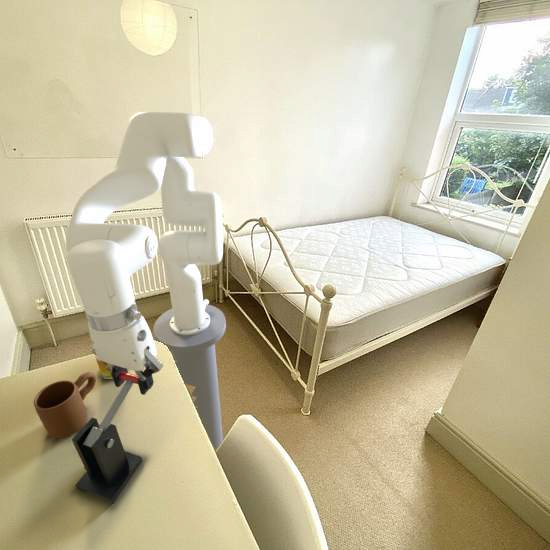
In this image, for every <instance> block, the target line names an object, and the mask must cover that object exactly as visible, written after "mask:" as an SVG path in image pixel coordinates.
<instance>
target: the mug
mask: <svg viewBox="0 0 550 550" xmlns="http://www.w3.org/2000/svg"><path fill="white" fill-rule="evenodd" d="M86 381H87V383H86V384H85V382H86ZM96 382H97V376H96V374H95V373H94V372H91V371H87V372H84V373H82V374H81V375H79V376H78V378H77V379H76V380H75V381H74V382H73V381H71V380H58V381H55V382H52V383H50V384H48V385H46V386H45V387H43V388H42V389H41V390H40V391H39V392H38V393H37V394H36V395H35V397H34V400H33V407H34V409H35V412H36V414H37V416H38V418H39V419H40V422H41V423H42V425H43V427H44V429H45V430H46V432H47V434H48V435H49V436H50V437H51V438H54V439H64V438H68V437H70V436H73V435H74V434H77V433H78V432H79V431H80V430H81V429H82V428H83V427H84V426H85V425H86V423H87V420H88V411H87V408H86V405H85V403H84V401H85V398H86V397H87V395H88V394H89V393H91V391H92V390H93V389H94V387H95V385H96ZM84 384H85V385H84ZM83 385H84V386H83ZM82 386H83V387H82ZM81 387H82V388H81ZM80 388H81V389H80Z"/></svg>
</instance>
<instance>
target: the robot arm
mask: <svg viewBox="0 0 550 550" xmlns="http://www.w3.org/2000/svg"><path fill="white" fill-rule="evenodd" d="M127 123H128V124H127V125H126V130H125V132H124V136H123V139H122V143H121V147H120V149H119V150H120V151H119V154H118V156H117V160H116V163H115V167H114V169H113V170H111V171H110V172H108V173H107V174H106V175H104V176H103V177H101V178H100V179H99V180H98V181H96V182H95V183H94V184H93V185H92V186H91V187H89V188H88V189H87V190H86V191H85V192H84V193H82V195H81V196H80V198H79V199H78V200H77V202H76V203H75V206H74V208H73V211H72V214H71V217H70V219H69V223H68V227H67V230H66V234H65V235H66V236H65V247H66V251H67V254H66V262H67V267H68V269H69V272H70V275H71V277H72V280H73V283H74V286H75V288H76V291H77V293H78V297H79V299H80V302H81V304H82V307H83V309H84V313H85V317H86V319H87V324H88V331H89V336H90V337H89V338H90V341H91V344H92V348H93V349H92V350H91V352H92V354H93V355H94V356H95V355H96V356H97V357H98V358H99V359H100V360H101V361H102V362H103V363H104V364H105V365H107V370H108V371H109V372H112V373H111V375H112V378H113V379H112V381H113V383H114V386H115V388H120V387H121V386H122V385H124V384H125V382H126V381H125V380H122V379H119V375H120V373H121V372H126V373H129V371H128V370H131V371H134V374H135V375H137V376H138V378H139V379H138V380H137V382H138V384H137V386H138V389H139V392H140V394H141V395H142V396H145V395H146V394H147V393H148V391H149V390H150V389H152V387H153V386H154V378H153V374H157V373H158V372H160V371H161V370H162V368H163V367H164V363H162V362H161V360H160V359H158V358H157V355H158V350H157V347H156V344H155V339H154V336H153V334H152V332H151V330H150V326H149V325H148V323H147V321H146V319H145V317H144V316H143V315H142V313H141V311H139V310H138V306H137V302H136V298H135V294H134V290H133V286H132V282H131V276H132V275H133V274H135V273H136V272H138V271H140V270H142V269H143V268H145V267H146V266H148V265H149V264H150V263H151V262H152V261H153V260H154V258H155V257H156V255H157V253H158V252H159V256H160V258H161V260H162V263H163V265H164V268H165V273H166V278H167V284H168V290H169V291H168V292H169V297H170V303H171V309H173V315H174V316H173V317H172V319H171V320H170V328H171V330H172V331H173V332H174V333H176V334H179V335H194V334H197V333H200V332H202V331H203V330H205V329H206V328H207V327H208V326H209V324H210V317H209V315H208V314H207V313H206V312H205V308H206V306H207V305H210V301H209V299H207V298H205V299H204V297H203V286H202V285H203V284H202V276H201V272H200V270H199V268H198V266H217V265H219V264H220V262H221V261H222V260H223V255H224V229H223V228H224V227H223V225H224V223H223V222H224V221H223V205H222V200H221V197H220V196H219V195H218V194H217V193H216V192H213V191H211V190H195V183H194V171H193V168H192V166H191V165H190V163H189V162H188V160H187V159H186V158H200V157H204V156H206V155H208V154H209V153H210V151H211V150H212V147H213V145H214V132H213V127H212V125H211V123H210V122H209V120H208V118H206V117H205V116H202V115H195V114H192V113H186V112H171V111H169V112H167V111H142V112H141V111H140V112H137V113H135V114H134V115H133V116H131V117H130V119H129V121H128V122H127ZM159 191H160V196H161V210H162V216H163V219H164V221H165V222H166V223H167V224H168V225H171V226H172V225H173V226H181V227H182V226H183V227H202V228H203V229H204V230H203V231H202V230H181V229H180V230H179V229H177V230H175V229H174V230H168V231H166V232H164V233H163V234H161V236H160V237H159V240H158V237H157V235H156V233H155V231H154V230H152V229H151V228H150V227H148V226H146V225H142V224H135V223H134V224H132V223H131V224H130V223H115V222H112V223H111V222H105V221H106V220H107V219H108V217H109V216H110V215H112V214H113V213H114V212H116V211H117V210H119V209H121V208H123V207H125V206H127V205H130V204H133V203H135V202H138V201H141V200H144V199H146V198H148V197H151V196H153V195H155V194H156V193H157V192H159Z"/></svg>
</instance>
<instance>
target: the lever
mask: <svg viewBox="0 0 550 550" xmlns="http://www.w3.org/2000/svg"><path fill="white" fill-rule="evenodd" d="M119 379H122V380H125V382H124V383H123V386H122V388H121V389H120V391H118V392H119V393H118V394H117V396H116V397H115V399H114V401H113V402H112V404H111V405H110V408H109V409H108V411H107V413H106V414H105V416H104V417H103V419H102V421H101V422H100V424H99V427H98V428H95V427H93V428H92V429H91V431H90V433H89V434H88V436H87V438H86V439H85V441H84V442H83V444H84V445H86V446H88V447H91V446H92V445H93V444H94V443H95V442H96V440H97V439H98V438H99V437H100V436H101V435H102V433H103V432H104V431H105V430H106V429H107V428H108V426H109V425H110V424H112V422H113V420H114V418H115V417H116V414H117V413H118V411H119V409H120V408H121V406H122V404H123V402H124V401H125V400H126V397H127V396H128V394H129V392H130V391H131V389H132V387H133V386H134V384H136V385H138V382H137V380H138V379H139V378H138V376H137V374H134V373H129V372H128V373H126V372H121V373H120V375H119Z"/></svg>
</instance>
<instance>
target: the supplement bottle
mask: <svg viewBox="0 0 550 550" xmlns="http://www.w3.org/2000/svg"><path fill="white" fill-rule="evenodd" d="M94 356H95V360H96V363H97V366H98V368H99V371H100V374H101V377H102V378H103V379H105V380H113V378H112V375H111V373H112V372H109V371H108V370H107V365H105V364H104V363H103V362H102V361H101V360H100V359H99V358H98V357H97V356H96V355H95V354H94Z"/></svg>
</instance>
